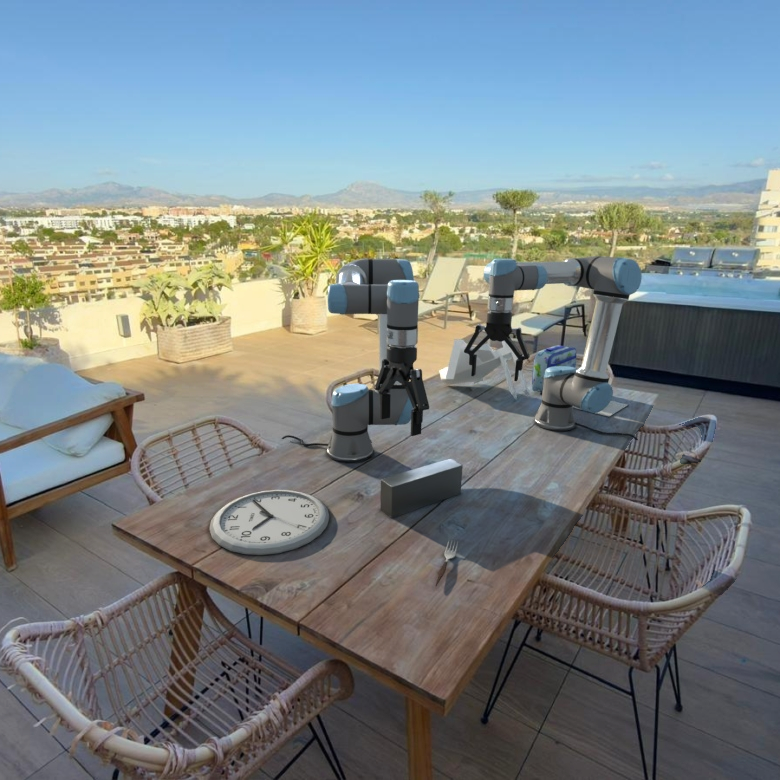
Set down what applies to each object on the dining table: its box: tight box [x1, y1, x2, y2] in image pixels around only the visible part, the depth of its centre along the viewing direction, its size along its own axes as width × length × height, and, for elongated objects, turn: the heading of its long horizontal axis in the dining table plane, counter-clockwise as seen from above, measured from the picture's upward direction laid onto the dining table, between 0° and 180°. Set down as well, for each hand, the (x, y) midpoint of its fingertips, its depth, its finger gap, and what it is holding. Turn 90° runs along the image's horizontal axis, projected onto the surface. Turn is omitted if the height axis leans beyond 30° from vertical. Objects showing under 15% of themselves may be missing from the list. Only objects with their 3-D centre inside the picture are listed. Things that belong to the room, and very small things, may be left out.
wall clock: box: [209, 489, 330, 556], centre depth 135 cm, size 30×2×30 cm
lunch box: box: [531, 345, 577, 394], centre depth 245 cm, size 26×11×21 cm, turn 134°
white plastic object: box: [438, 338, 531, 400], centre depth 245 cm, size 37×45×31 cm
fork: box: [435, 540, 459, 587], centre depth 117 cm, size 3×16×2 cm, turn 160°
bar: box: [379, 457, 463, 519], centre depth 144 cm, size 24×5×9 cm, turn 124°
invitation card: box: [573, 400, 629, 418], centre depth 226 cm, size 21×1×15 cm
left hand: (399, 426), depth 134 cm, fingers open, 13 cm apart
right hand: (494, 377), depth 166 cm, fingers open, 13 cm apart
